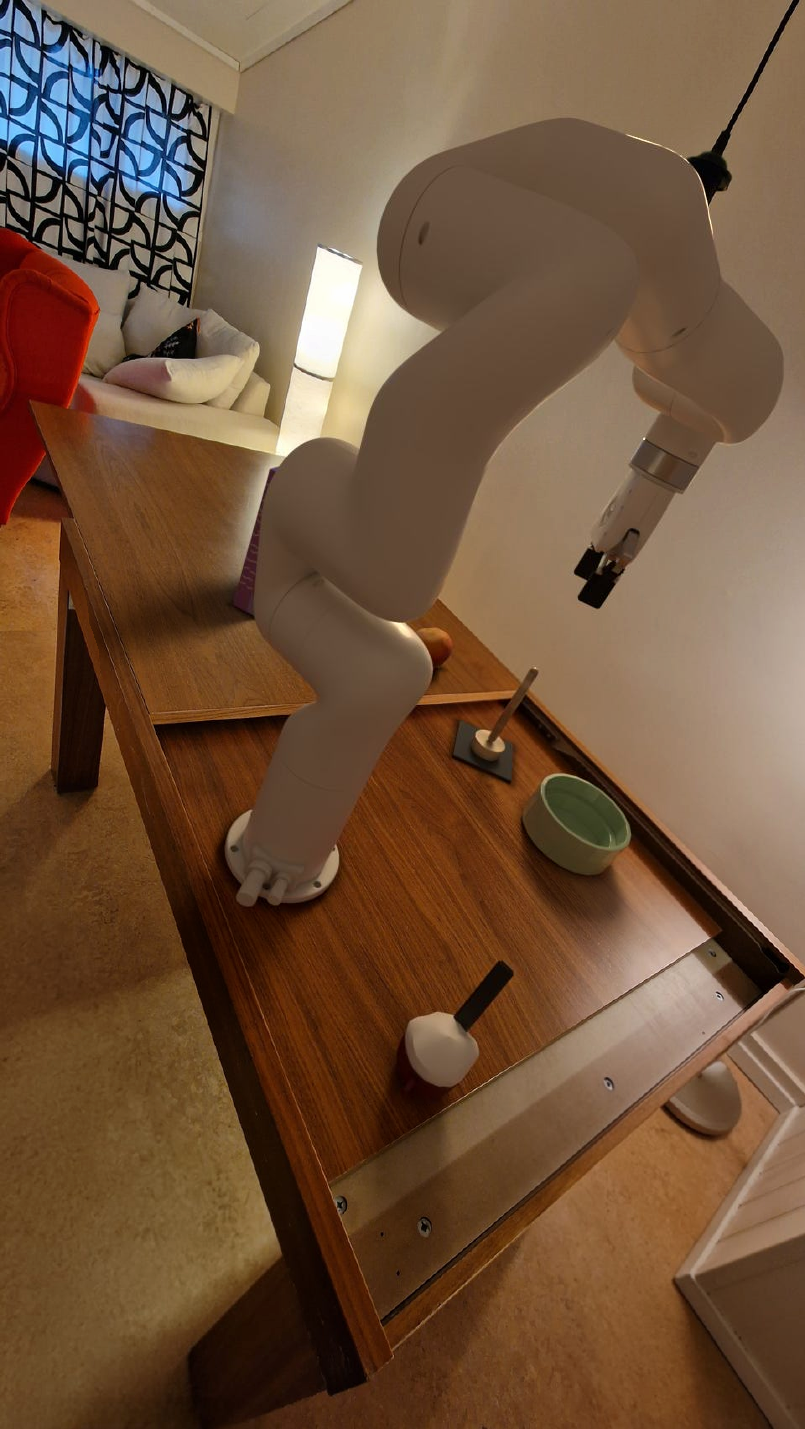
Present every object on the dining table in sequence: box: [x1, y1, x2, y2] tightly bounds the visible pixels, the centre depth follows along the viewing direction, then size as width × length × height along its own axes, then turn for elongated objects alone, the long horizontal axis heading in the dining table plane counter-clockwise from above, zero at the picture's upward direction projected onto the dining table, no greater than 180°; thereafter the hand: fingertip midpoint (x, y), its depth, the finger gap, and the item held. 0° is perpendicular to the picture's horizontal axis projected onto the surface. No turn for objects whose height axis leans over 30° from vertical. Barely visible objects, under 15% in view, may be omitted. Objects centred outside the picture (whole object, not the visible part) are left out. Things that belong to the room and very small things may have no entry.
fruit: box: [414, 627, 453, 670], centre depth 114 cm, size 8×8×8 cm
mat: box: [452, 719, 514, 783], centre depth 100 cm, size 10×10×1 cm
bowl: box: [521, 773, 632, 876], centre depth 90 cm, size 14×14×6 cm
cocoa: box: [396, 960, 515, 1099], centre depth 54 cm, size 10×6×12 cm, turn 118°
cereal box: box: [232, 465, 280, 618], centre depth 105 cm, size 17×5×24 cm, turn 161°
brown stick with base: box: [470, 666, 540, 761], centre depth 96 cm, size 5×5×17 cm
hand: (585, 590), depth 84 cm, fingers open, 9 cm apart
